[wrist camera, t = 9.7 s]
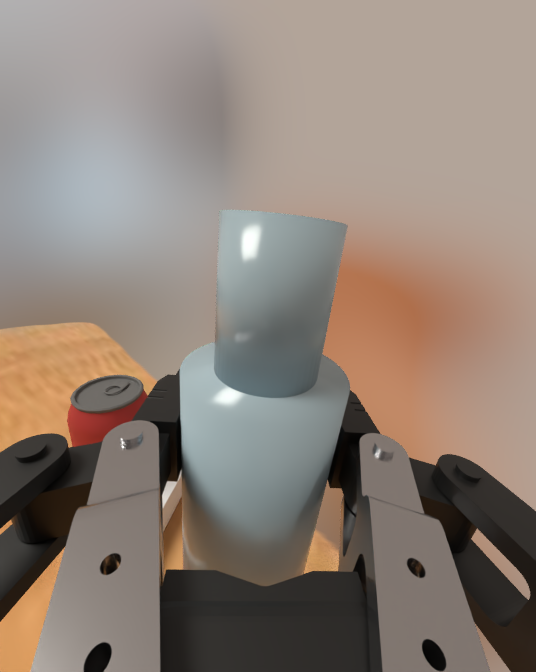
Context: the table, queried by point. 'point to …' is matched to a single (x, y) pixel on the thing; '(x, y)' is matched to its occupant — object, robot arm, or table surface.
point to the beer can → (103, 407)
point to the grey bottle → (262, 399)
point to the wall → (171, 499)
